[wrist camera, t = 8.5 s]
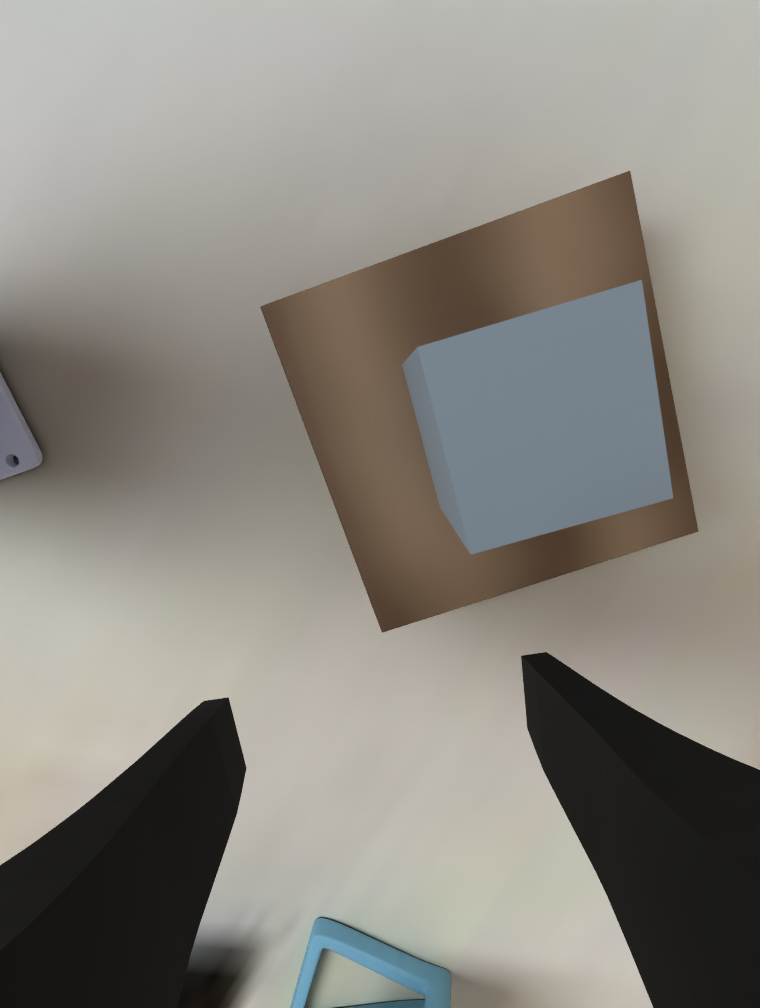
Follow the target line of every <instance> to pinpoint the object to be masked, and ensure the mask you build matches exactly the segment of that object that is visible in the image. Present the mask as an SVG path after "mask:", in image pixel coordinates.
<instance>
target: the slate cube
mask: <svg viewBox="0 0 760 1008" xmlns="http://www.w3.org/2000/svg"><path fill="white" fill-rule="evenodd" d="M402 367H403V371H404V374H405V378H406V382H407V386H408V389H409V393H410V397H411V401H412V404H413V408H414V412H415V416H416V419H417V423H418V427H419V431H420V435H421V438H422V442H423V446H424V450H425V453H426V457H427V461H428V465H429V468H430V472H431V476H432V480H433V483H434V487H435V491H436V495H437V498H438V502H439V506H440V508H441V510H442V512H443V513H444V515H445V516H446V518H447V519H448V521H449V522H450V524H451V525H452V527H453V528H454V530H455V532H456V533H457V535H458V536H459V538H460V539H461V541H462V542H463V544H464V545H465V547H466V548H467V550H468V551H469V553H470V555H471V554H475V553H478V552H482V551H486V550H489V549H493V548H496V547H500V546H503V545H507V544H511V543H514V542H518V541H521V540H525V539H529V538H532V537H536V536H539V535H543V534H547V533H550V532H554V531H557V530H561V529H564V528H568V527H572V526H575V525H579V524H582V523H586V522H590V521H593V520H597V519H600V518H604V517H608V516H611V515H615V514H618V513H622V512H626V511H629V510H633V509H636V508H640V507H643V506H647V505H651V504H654V503H658V502H661V501H665V500H669V499H672V498H673V492H672V485H671V478H670V471H669V464H668V458H667V451H666V444H665V437H664V430H663V423H662V416H661V409H660V402H659V395H658V388H657V381H656V374H655V367H654V361H653V354H652V347H651V340H650V333H649V326H648V319H647V312H646V305H645V298H644V291H643V284H642V280H639V281H636V282H633V283H629V284H626V285H623V286H619V287H616V288H613V289H609V290H606V291H603V292H599V293H596V294H593V295H589V296H586V297H583V298H579V299H576V300H573V301H569V302H566V303H563V304H559V305H556V306H553V307H549V308H546V309H543V310H539V311H536V312H533V313H529V314H526V315H523V316H519V317H516V318H513V319H509V320H506V321H503V322H499V323H496V324H493V325H489V326H486V327H483V328H479V329H476V330H473V331H469V332H466V333H463V334H459V335H456V336H453V337H449V338H446V339H443V340H439V341H436V342H433V343H429V344H426V345H423V346H419V347H417V348H416V349H415V350H414V352H413V353H412V354H411V355H410V356H409V357H408V358H407V359H406V361H405V362H404V363H403V364H402Z"/></svg>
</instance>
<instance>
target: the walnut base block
mask: <svg viewBox="0 0 760 1008" xmlns="http://www.w3.org/2000/svg"><path fill="white" fill-rule="evenodd" d="M639 280H642V284H643V291H644V298H645V305H646V312H647V319H648V326H649V333H650V340H651V347H652V354H653V361H654V367H655V374H656V381H657V388H658V395H659V402H660V409H661V416H662V423H663V430H664V437H665V444H666V451H667V458H668V464H669V471H670V478H671V485H672V492H673V498H672V499H669V500H665V501H661V502H658V503H654V504H651V505H647V506H643V507H640V508H636V509H633V510H629V511H626V512H622V513H618V514H615V515H611V516H608V517H604V518H600V519H597V520H593V521H590V522H586V523H582V524H579V525H575V526H572V527H568V528H564V529H561V530H557V531H554V532H550V533H547V534H543V535H539V536H536V537H532V538H529V539H525V540H521V541H518V542H514V543H511V544H507V545H503V546H500V547H496V548H493V549H489V550H486V551H482V552H478V553H475V554H471V555H470V553H469V551H468V550H467V548H466V547H465V545H464V544H463V542H462V541H461V539H460V538H459V536H458V535H457V533H456V532H455V530H454V528H453V527H452V525H451V524H450V522H449V521H448V519H447V518H446V516H445V515H444V513H443V512H442V510H441V508H440V506H439V502H438V498H437V495H436V491H435V487H434V483H433V480H432V476H431V472H430V468H429V465H428V461H427V457H426V453H425V450H424V446H423V442H422V438H421V435H420V431H419V427H418V423H417V419H416V416H415V412H414V408H413V404H412V401H411V397H410V393H409V389H408V386H407V382H406V378H405V374H404V371H403V367H402V364H403V363H404V362H405V361H406V359H407V358H408V357H409V356H410V355H411V354H412V353H413V352H414V350H415V349H416V348H417V347H419V346H423V345H426V344H429V343H433V342H436V341H439V340H443V339H446V338H449V337H453V336H456V335H459V334H463V333H466V332H469V331H473V330H476V329H479V328H483V327H486V326H489V325H493V324H496V323H499V322H503V321H506V320H509V319H513V318H516V317H519V316H523V315H526V314H529V313H533V312H536V311H539V310H543V309H546V308H549V307H553V306H556V305H559V304H563V303H566V302H569V301H573V300H576V299H579V298H583V297H586V296H589V295H593V294H596V293H599V292H603V291H606V290H609V289H613V288H616V287H619V286H623V285H626V284H629V283H633V282H636V281H639ZM261 310H262V313H263V316H264V318H265V321H266V324H267V326H268V329H269V332H270V334H271V337H272V340H273V342H274V345H275V348H276V350H277V353H278V356H279V358H280V361H281V364H282V366H283V369H284V372H285V374H286V377H287V380H288V382H289V385H290V388H291V390H292V393H293V396H294V398H295V401H296V404H297V406H298V409H299V412H300V414H301V417H302V420H303V422H304V425H305V428H306V430H307V433H308V436H309V438H310V441H311V444H312V446H313V449H314V452H315V454H316V457H317V460H318V462H319V465H320V468H321V470H322V473H323V476H324V479H325V481H326V484H327V487H328V489H329V492H330V495H331V497H332V500H333V503H334V505H335V508H336V511H337V513H338V516H339V519H340V521H341V524H342V527H343V529H344V532H345V535H346V537H347V540H348V543H349V545H350V548H351V551H352V553H353V556H354V559H355V561H356V564H357V567H358V569H359V572H360V575H361V577H362V580H363V583H364V585H365V588H366V591H367V593H368V596H369V599H370V601H371V604H372V607H373V609H374V612H375V615H376V617H377V620H378V623H379V625H380V628H381V631H382V632H386V631H389V630H392V629H395V628H398V627H401V626H404V625H407V624H411V623H414V622H417V621H420V620H423V619H426V618H429V617H432V616H435V615H439V614H442V613H445V612H448V611H451V610H454V609H457V608H460V607H464V606H467V605H470V604H473V603H476V602H479V601H482V600H485V599H489V598H492V597H495V596H498V595H501V594H504V593H507V592H510V591H514V590H517V589H520V588H523V587H526V586H529V585H532V584H535V583H539V582H542V581H545V580H548V579H551V578H554V577H557V576H560V575H563V574H567V573H570V572H573V571H576V570H579V569H582V568H585V567H588V566H592V565H595V564H598V563H601V562H604V561H607V560H610V559H613V558H617V557H620V556H623V555H626V554H629V553H632V552H635V551H638V550H642V549H645V548H648V547H651V546H654V545H657V544H660V543H663V542H667V541H670V540H673V539H676V538H679V537H682V536H685V535H688V534H691V533H695V532H698V527H697V522H696V517H695V512H694V506H693V501H692V496H691V490H690V485H689V480H688V475H687V469H686V464H685V459H684V453H683V448H682V443H681V438H680V432H679V427H678V422H677V416H676V411H675V406H674V401H673V395H672V390H671V385H670V379H669V374H668V369H667V364H666V358H665V353H664V348H663V343H662V337H661V332H660V327H659V321H658V316H657V311H656V306H655V300H654V295H653V290H652V284H651V279H650V274H649V269H648V263H647V258H646V253H645V247H644V242H643V237H642V232H641V226H640V221H639V216H638V210H637V205H636V200H635V195H634V189H633V184H632V179H631V173H630V171H628V172H625V173H622V174H620V175H617V176H614V177H612V178H609V179H606V180H603V181H601V182H598V183H595V184H593V185H590V186H587V187H584V188H582V189H579V190H576V191H574V192H571V193H568V194H565V195H563V196H560V197H557V198H555V199H552V200H549V201H546V202H544V203H541V204H538V205H535V206H533V207H530V208H527V209H525V210H522V211H519V212H516V213H514V214H511V215H508V216H506V217H503V218H500V219H497V220H495V221H492V222H489V223H487V224H484V225H481V226H478V227H476V228H473V229H470V230H468V231H465V232H462V233H459V234H457V235H454V236H451V237H449V238H446V239H443V240H440V241H438V242H435V243H432V244H429V245H427V246H424V247H421V248H419V249H416V250H413V251H410V252H408V253H405V254H402V255H400V256H397V257H394V258H391V259H389V260H386V261H383V262H381V263H378V264H375V265H372V266H370V267H367V268H364V269H362V270H359V271H356V272H353V273H351V274H348V275H345V276H343V277H340V278H337V279H334V280H332V281H329V282H326V283H323V284H321V285H318V286H315V287H313V288H310V289H307V290H304V291H302V292H299V293H296V294H294V295H291V296H288V297H285V298H283V299H280V300H277V301H275V302H272V303H269V304H266V305H264V306H261Z"/></svg>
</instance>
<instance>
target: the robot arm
mask: <svg viewBox="0 0 760 1008" xmlns="http://www.w3.org/2000/svg"><path fill="white" fill-rule="evenodd" d="M14 455H15V456H16V457H17V458H18V459H19V464H18V465H16V464H15V462H14V460H13V457H14ZM42 457H43V456H42V453H41V451H40V449H39V447H38V445H37V443H36V441H35V439H34V437H33V435H32V433H31V431H30V429H29V427H28V425H27V423H26V421H25V419H24V417H23V416H22V414H21V412H20V410H19V408H18V406H17V404H16V402H15V400H14V398H13V396H12V394H11V392H10V390H9V388H8V386H7V384H6V382H5V380H4V379H3V377H2V375H1V373H0V480H2V479H5V478H7V477H10V476H13V475H16V474H19V473H21V472H24V471H27V470H30V469H33V468H35V467H37V466H39V465H40V464H41V462H42ZM521 659H522V670H523V682H524V693H525V705H526V717H527V728H528V731H529V734H530V736H531V739H532V742H533V744H534V747H535V750H536V752H537V755H538V758H539V760H540V763H541V765H542V768H543V770H544V772H545V774H546V776H547V778H548V780H549V782H550V784H551V786H552V788H553V790H554V792H555V794H556V796H557V798H558V800H559V802H560V804H561V806H562V808H563V809H564V811H565V813H566V815H567V817H568V819H569V821H570V823H571V825H572V827H573V829H574V831H575V833H576V834H577V836H578V838H579V840H580V842H581V844H582V846H583V848H584V850H585V852H586V854H587V856H588V858H589V859H590V861H591V863H592V865H593V867H594V869H595V871H596V873H597V875H598V877H599V879H600V882H601V884H602V886H603V888H604V890H605V892H606V894H607V896H608V899H609V901H610V903H611V906H612V908H613V910H614V913H615V915H616V918H617V920H618V922H619V925H620V927H621V930H622V932H623V934H624V937H625V939H626V941H627V944H628V946H629V949H630V951H631V953H632V956H633V958H634V961H635V963H636V966H637V968H638V971H639V973H640V975H641V978H642V980H643V983H644V985H645V988H646V990H647V993H648V995H649V998H650V1000H651V1003H652V1005H653V1008H760V770H758V769H756V768H754V767H751V766H749V765H746V764H744V763H741V762H739V761H736V760H734V759H732V758H730V757H727V756H725V755H723V754H720V753H718V752H716V751H714V750H712V749H710V748H707V747H705V746H703V745H701V744H699V743H697V742H695V741H693V740H691V739H689V738H687V737H685V736H683V735H681V734H679V733H677V732H675V731H673V730H671V729H669V728H667V727H665V726H663V725H661V724H660V723H658V722H656V721H654V720H652V719H651V718H649V717H647V716H645V715H644V714H642V713H640V712H638V711H637V710H635V709H633V708H631V707H630V706H628V705H626V704H625V703H623V702H621V701H620V700H618V699H617V698H615V697H613V696H612V695H610V694H609V693H607V692H605V691H604V690H602V689H601V688H599V687H598V686H596V685H595V684H593V683H592V682H590V681H589V680H587V679H586V678H584V677H583V676H581V675H580V674H578V673H577V672H575V671H574V670H572V669H571V668H569V667H568V666H566V665H565V664H563V663H562V662H561V661H559V660H558V659H556V658H555V657H553V656H552V655H550V654H548V653H547V652H544V653H537V654H530V655H523V656H521ZM245 772H246V765H245V761H244V757H243V753H242V749H241V745H240V741H239V737H238V733H237V729H236V725H235V721H234V717H233V714H232V710H231V706H230V702H229V698H222V699H215V700H208V701H204V702H202V703H201V704H200V705H198V706H197V707H196V708H195V709H194V710H192V711H191V712H190V713H189V714H188V715H187V716H186V717H185V718H183V719H182V720H181V721H180V722H179V723H178V724H177V725H176V726H175V727H174V728H172V729H171V730H170V731H169V732H168V733H167V734H166V735H165V736H164V737H163V738H161V739H160V740H159V741H158V742H157V743H156V744H155V745H154V746H153V747H152V748H150V749H149V750H148V751H147V752H146V753H145V754H144V755H143V756H142V757H140V758H139V759H138V760H137V761H136V762H135V763H134V764H133V765H131V766H130V767H129V768H128V769H127V770H125V771H124V772H123V773H122V774H121V775H120V776H118V777H117V778H116V779H115V780H114V781H112V782H111V783H110V784H109V785H108V786H107V787H105V788H104V789H103V790H102V791H101V792H99V793H98V794H97V795H96V796H95V797H94V798H92V799H91V800H90V801H89V802H87V803H86V804H85V805H84V806H82V807H81V808H80V809H79V810H77V811H76V812H75V813H73V814H72V815H71V816H69V817H68V818H67V819H66V820H64V821H63V822H62V823H60V824H59V825H57V826H56V827H55V828H53V829H52V830H51V831H49V832H48V833H47V834H45V835H44V836H43V837H41V838H40V839H38V840H37V841H36V842H34V843H33V844H31V845H30V846H29V847H27V848H26V849H24V850H23V851H21V852H20V853H18V854H17V855H15V856H14V857H12V858H11V859H9V860H8V861H6V862H5V863H3V864H2V865H0V1008H177V1006H178V1002H179V998H180V994H181V990H182V986H183V982H184V978H185V974H186V970H187V966H188V962H189V958H190V954H191V951H192V948H193V944H194V941H195V938H196V934H197V931H198V928H199V924H200V921H201V919H202V916H203V913H204V910H205V907H206V904H207V901H208V898H209V895H210V892H211V889H212V886H213V883H214V880H215V877H216V874H217V871H218V868H219V866H220V863H221V860H222V857H223V854H224V851H225V848H226V845H227V842H228V839H229V836H230V833H231V830H232V827H233V824H234V820H235V817H236V814H237V810H238V806H239V801H240V797H241V792H242V787H243V782H244V777H245Z"/></svg>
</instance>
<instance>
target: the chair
mask: <svg viewBox="0 0 760 1008" xmlns="http://www.w3.org/2000/svg"><path fill="white" fill-rule="evenodd" d="M323 948H327V949H330V950H332V951H334V952H336V953H338V954H340V955H342V956H344V957H346V958H348V959H350V960H352V961H354V962H356V963H358V964H360V965H363V966H365V967H367V968H369V969H371V970H373V971H375V972H377V973H379V974H381V975H383V976H385V977H387V978H389V979H391V980H393V981H395V982H397V983H399V984H401V985H403V986H405V987H407V988H409V989H411V990H413V991H415V992H418V993H420V994H422V995H424V996H425V1000H406V1001H395V1002H386V1003H377V1004H369V1005H361V1006H353V1007H345V1008H450V998H451V982H450V973H449V971H448V970H446V969H444V968H441V967H438V966H436V965H433V964H430V963H427V962H425V961H422V960H419V959H417V958H415V957H412V956H410V955H408V954H406V953H403V952H401V951H399V950H397V949H395V948H392V947H390V946H388V945H386V944H384V943H382V942H380V941H377V940H375V939H373V938H371V937H369V936H367V935H364V934H362V933H360V932H358V931H356V930H354V929H351V928H349V927H347V926H345V925H342V924H340V923H337V922H335V921H332V920H329V919H325V918H318V919H316V920H315V922H314V925H313V928H312V932H311V935H310V939H309V943H308V946H307V950H306V953H305V957H304V961H303V964H302V968H301V971H300V975H299V979H298V982H297V986H296V989H295V993H294V996H293V1000H292V1004H291V1007H290V1008H304V1006H305V1003H306V1000H307V996H308V993H309V990H310V987H311V984H312V980H313V977H314V974H315V971H316V967H317V964H318V961H319V958H320V955H321V951H322V950H323Z"/></svg>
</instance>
